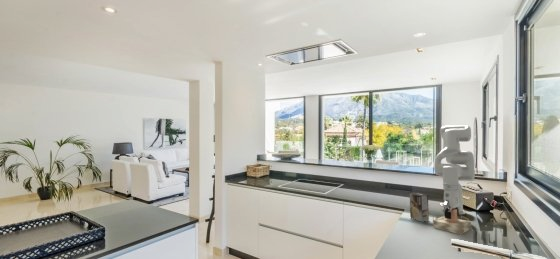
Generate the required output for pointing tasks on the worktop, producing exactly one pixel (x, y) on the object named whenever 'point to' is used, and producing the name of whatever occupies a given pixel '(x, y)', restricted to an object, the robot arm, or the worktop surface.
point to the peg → (453, 216)
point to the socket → (452, 225)
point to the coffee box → (419, 207)
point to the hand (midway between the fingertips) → (451, 216)
